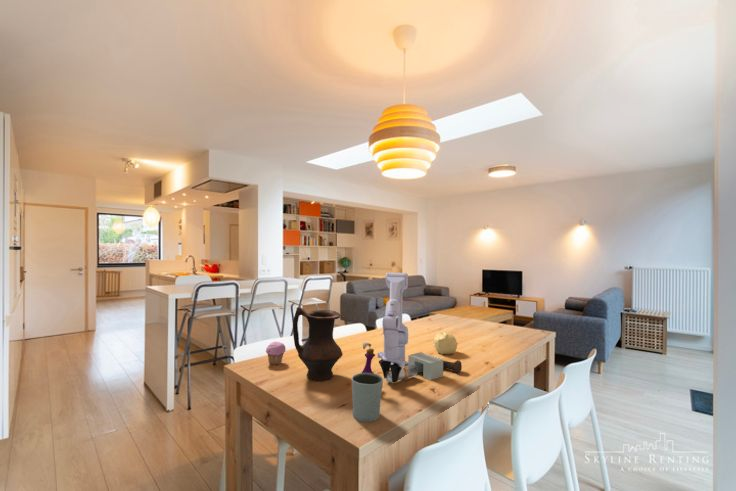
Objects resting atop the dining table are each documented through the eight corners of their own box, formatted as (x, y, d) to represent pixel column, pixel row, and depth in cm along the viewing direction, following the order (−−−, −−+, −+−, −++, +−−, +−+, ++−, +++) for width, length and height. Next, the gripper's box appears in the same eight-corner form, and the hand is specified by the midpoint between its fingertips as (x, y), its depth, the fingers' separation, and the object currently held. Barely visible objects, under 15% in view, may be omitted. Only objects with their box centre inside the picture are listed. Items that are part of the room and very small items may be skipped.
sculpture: (432, 349, 182) (432, 329, 183) (454, 349, 182) (454, 329, 182) (435, 355, 171) (435, 334, 171) (459, 356, 171) (459, 335, 171)
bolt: (429, 369, 157) (460, 375, 148) (425, 366, 153) (456, 372, 144) (431, 357, 159) (462, 362, 150) (427, 353, 156) (458, 359, 147)
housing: (408, 371, 149) (408, 355, 149) (420, 367, 154) (421, 352, 154) (430, 380, 138) (430, 363, 138) (443, 376, 143) (443, 359, 143)
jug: (335, 366, 153) (336, 301, 154) (347, 381, 136) (348, 307, 137) (288, 372, 146) (289, 303, 146) (295, 388, 129) (296, 310, 129)
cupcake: (273, 359, 163) (273, 338, 163) (289, 361, 160) (289, 340, 160) (262, 365, 154) (262, 343, 154) (278, 367, 151) (278, 345, 152)
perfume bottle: (365, 384, 133) (366, 339, 134) (380, 389, 129) (381, 342, 129) (353, 390, 128) (353, 342, 128) (368, 395, 123) (369, 346, 123)
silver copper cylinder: (384, 381, 136) (384, 367, 136) (409, 374, 144) (409, 361, 144) (393, 386, 131) (393, 371, 131) (418, 378, 139) (418, 365, 140)
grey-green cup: (347, 410, 111) (347, 374, 111) (375, 406, 115) (375, 370, 115) (357, 425, 102) (357, 386, 102) (387, 420, 105) (388, 381, 105)
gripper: (372, 343, 138) (371, 376, 137) (395, 352, 126) (395, 388, 126) (385, 340, 142) (384, 372, 142) (409, 348, 130) (408, 384, 130)
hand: (390, 379), depth 134 cm, fingers closed on silver copper cylinder, 4 cm apart
